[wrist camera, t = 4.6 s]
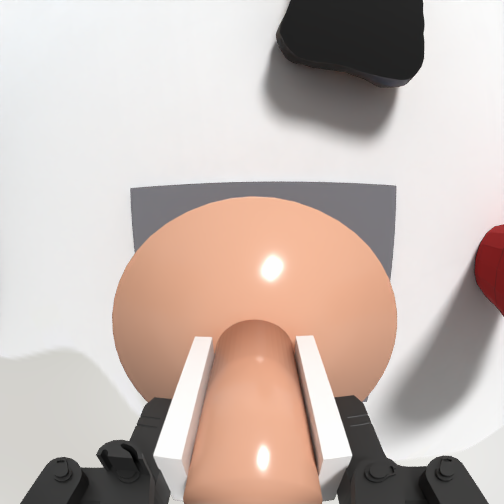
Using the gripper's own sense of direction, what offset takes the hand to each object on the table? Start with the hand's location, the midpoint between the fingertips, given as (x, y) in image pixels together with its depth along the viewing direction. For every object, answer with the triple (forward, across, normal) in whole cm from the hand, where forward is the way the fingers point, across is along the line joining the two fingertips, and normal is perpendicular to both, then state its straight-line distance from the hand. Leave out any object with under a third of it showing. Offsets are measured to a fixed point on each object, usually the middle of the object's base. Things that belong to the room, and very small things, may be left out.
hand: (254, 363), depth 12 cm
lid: (+2, 0, 0) cm, 2 cm away
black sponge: (+7, +7, +22) cm, 24 cm away
